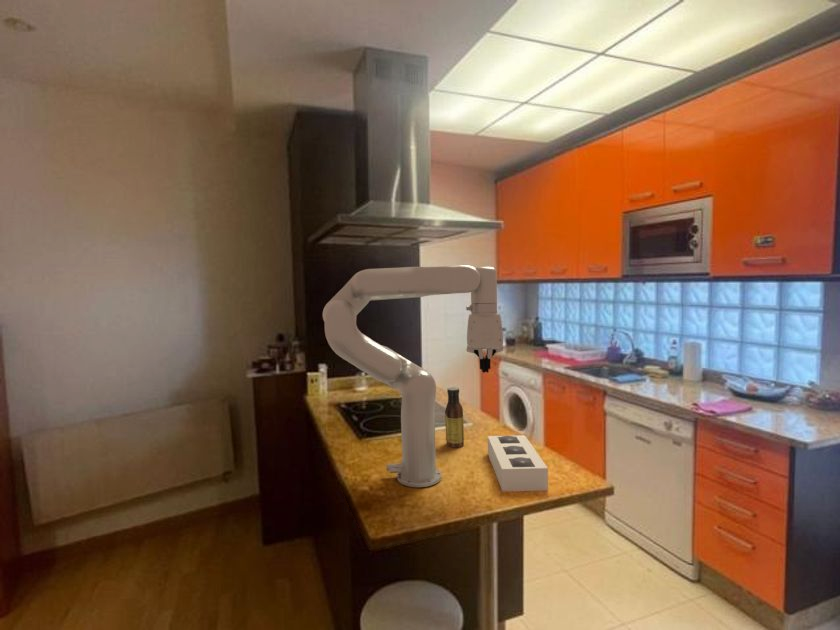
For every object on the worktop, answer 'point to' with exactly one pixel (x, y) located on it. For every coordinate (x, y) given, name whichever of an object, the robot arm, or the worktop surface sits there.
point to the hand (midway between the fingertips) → (485, 371)
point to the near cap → (521, 462)
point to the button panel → (517, 476)
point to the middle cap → (514, 450)
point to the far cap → (508, 439)
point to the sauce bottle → (454, 419)
